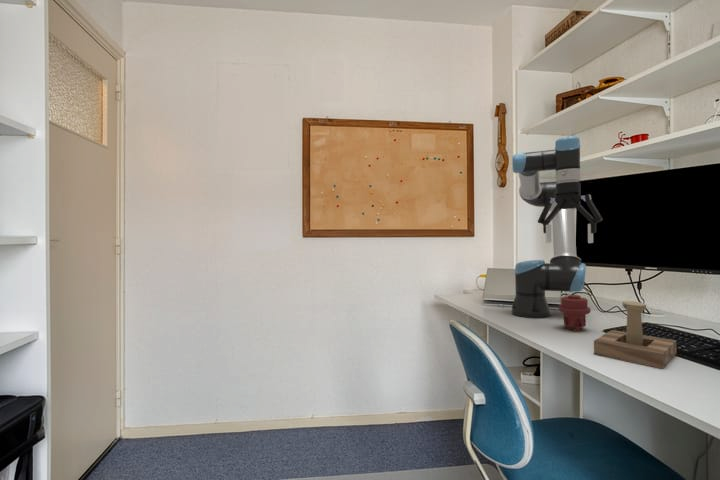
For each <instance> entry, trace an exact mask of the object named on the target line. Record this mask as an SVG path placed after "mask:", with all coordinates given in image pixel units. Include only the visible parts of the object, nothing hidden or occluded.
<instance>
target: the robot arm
mask: <svg viewBox="0 0 720 480" xmlns="http://www.w3.org/2000/svg"><path fill="white" fill-rule="evenodd" d="M554 143H555V145H554V146H555V147H554V149H548V150H540V151H531V152H521V153H515V154H513V156H512V161H511V162H512V173H514V174H518V175H519V182H520V186H519V188H518V192H519V193H518V194H519V196H520V197H521V200H523V201H524V202H525V203H526V204H529V205H531V206H534V207H538V208H539V207H541V208H543V209H542V211H541V213H540V215H539V218H538V220H537V223H538V224H542V225H543V227H542V229H543V234H545V243H553V257H552V258H550V259H549V262H548V263H546V261H545V260H544V259H536V260H535V259H533V260H531V259H530V260H525V261H519V262H517V263H516V264H515V268H514V269H515V271H514V275H515V280H514V281H515V295H514V296H515V298H514V300H513V303H512V307H511V314H512V315H513V316H517V317H522V318H530V319H531V318H533V319H535V318H536V319H539V318H543V319H544V318H548V317H550V316H551V309H550V306H549V304H548V301H547V298H546V292H547V291H548V292H567V293H573V292H576V293H577V292H581V291H582V290H584V287H585V282H586V281H585V280H586V271H587V266H586V264H585V263H584V262H583V263H582V259H581V258H580V257H579V256H578V255H577V246H576V245H577V244H576V243H577V242H576V230H575V228H576V227H575V213H574V211H575V210H577V211H578V212H579V213H581V215H582V216H583V217H584V218H585V219H586V220H587V221H588V222H589V223H588V224H587V243H588V244H593V243H594V234H595V233H597V223H600V222H602V221H604V218H603V217H602V215H601V214H600V211H599V210H598V209H597V207H596V206H595V203H594V202H593V198H592V195H591V194H585V195H582V194H581V182H580V181H581V141H580V138H579V137H578V136H564V137H560V138H558V139H556V140H555V141H554ZM554 170H555V180H554V181H545V182H543V181H542V182H540V172H543V171H554ZM582 200H583V201H584V202H585V203H586V205H587V207H588V209H589V210H590V211H591V213H592V214H590V213H589V211H587V210H586V209H585V207H584V206H583V205H582V204H581V201H582ZM549 212H550V213H549ZM548 214H549V215H548ZM592 215H593V216H592ZM551 221H552V224H550V223H551Z"/></svg>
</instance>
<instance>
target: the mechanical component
mask: <svg viewBox="0 0 720 480" xmlns="http://www.w3.org/2000/svg"><path fill="white" fill-rule="evenodd" d="M560 301H561V303H560V305H558V311H559V312H561V313H562V314H563V327H564V328H565V329H568V330H572V331H575V332H580V331H581V330H582V329H583V328H585V327H586V326H587V325H586V322H587V321H586V315H589V314H591V308H590V307H589V305H588V302H589V301H588V298H586V297H581V296H580V295H578V294H577V295H576V294H568V295H567V296H563V297H561V298H560Z"/></svg>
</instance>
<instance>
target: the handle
mask: <svg viewBox="0 0 720 480" xmlns="http://www.w3.org/2000/svg"><path fill="white" fill-rule="evenodd" d="M622 307H623V309H625V310H626V313H627V314H626V331H625V332H626V341H627V343H628V344H634V345H639V346H642V345H643V335H644V333H643V321H642V312H644V311H645V310H647V304H646V303H643V302H639V301H633V300H631V301H630V300H629V301H627V300H625V301H622Z"/></svg>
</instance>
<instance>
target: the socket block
mask: <svg viewBox="0 0 720 480" xmlns="http://www.w3.org/2000/svg"><path fill="white" fill-rule="evenodd" d="M593 354H594V355H596V354H597V356H601V357H605V358H610V359H615V360H620V361H624V362H629V363H635V364H640V365H645V366H647V367H652V368H658V369H662V370H664V368H665V367H666V366H667V365H668V364H669V363H670V362H671V361H672V360H673V358H675V356H676V355H677V340H675V339H669V338H665V337H657V336H653V335H652V336H650V335H645V334H643V345H642V346H639V345H634V344H628V343H627V341H626V331H625V332H624V331H620V330H615V329H611V330H609V331H607V332H606V333H604V334H602V335H600V336H599V337H598V338H596V339H594V340H593Z"/></svg>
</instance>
